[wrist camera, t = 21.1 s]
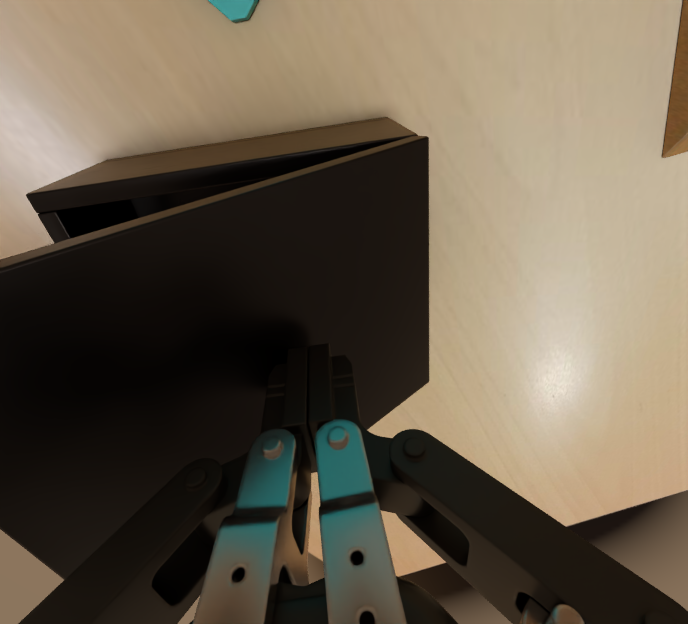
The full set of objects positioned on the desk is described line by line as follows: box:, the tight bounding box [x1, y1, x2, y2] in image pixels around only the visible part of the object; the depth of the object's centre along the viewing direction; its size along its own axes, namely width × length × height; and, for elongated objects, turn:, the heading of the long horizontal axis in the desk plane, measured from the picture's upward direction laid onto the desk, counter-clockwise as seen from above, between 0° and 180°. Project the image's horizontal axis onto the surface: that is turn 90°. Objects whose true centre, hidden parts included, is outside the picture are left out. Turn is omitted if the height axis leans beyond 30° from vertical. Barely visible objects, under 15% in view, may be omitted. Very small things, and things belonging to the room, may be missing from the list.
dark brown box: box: [26, 117, 418, 243], centre depth 21 cm, size 16×13×7 cm
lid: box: [0, 136, 429, 580], centre depth 14 cm, size 16×13×1 cm
